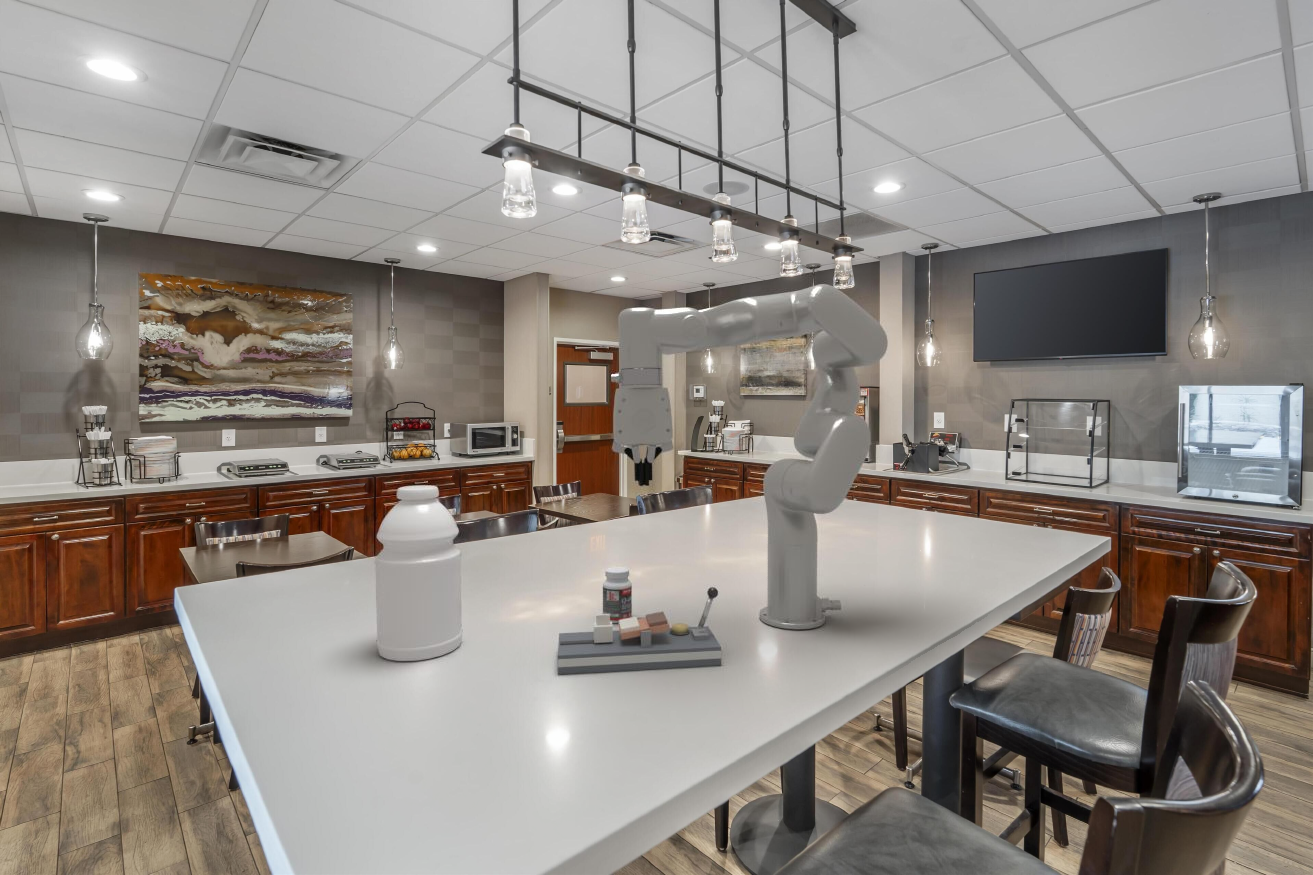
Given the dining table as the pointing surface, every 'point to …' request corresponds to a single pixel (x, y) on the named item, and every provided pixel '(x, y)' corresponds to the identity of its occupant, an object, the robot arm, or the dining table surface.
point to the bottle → (418, 578)
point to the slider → (603, 629)
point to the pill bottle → (617, 594)
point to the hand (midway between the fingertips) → (643, 484)
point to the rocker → (643, 625)
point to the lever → (707, 606)
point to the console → (638, 651)
